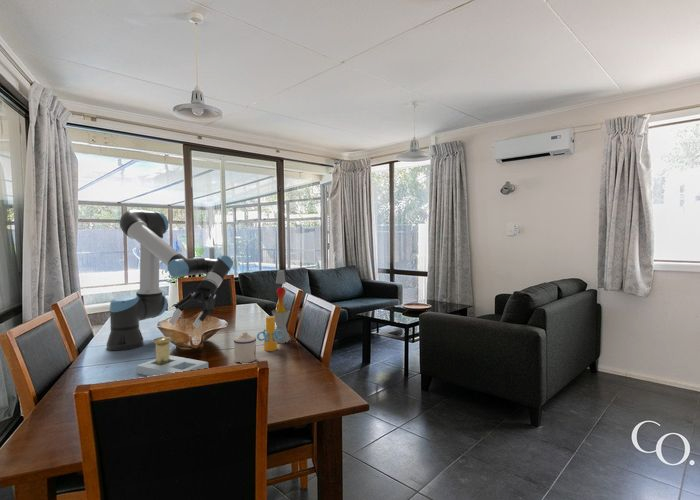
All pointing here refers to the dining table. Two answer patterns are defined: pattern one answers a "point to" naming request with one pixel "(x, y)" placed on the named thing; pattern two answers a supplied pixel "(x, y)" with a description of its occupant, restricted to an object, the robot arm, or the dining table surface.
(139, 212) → the robot arm
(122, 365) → the dining table surface
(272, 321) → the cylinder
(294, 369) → the dining table surface
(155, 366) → the jig plate
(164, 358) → the brass sleeve
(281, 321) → the lava lamp
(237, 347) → the teacup with lid
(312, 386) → the dining table surface
